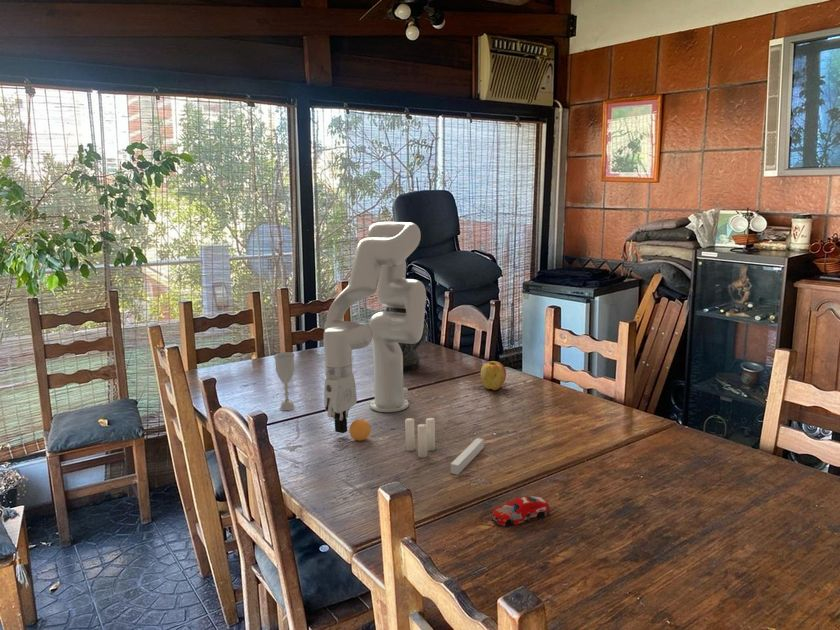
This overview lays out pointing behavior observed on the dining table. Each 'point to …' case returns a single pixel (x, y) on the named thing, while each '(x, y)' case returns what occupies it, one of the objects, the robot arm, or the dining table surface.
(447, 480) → the dining table surface
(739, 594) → the dining table surface
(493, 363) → the apple
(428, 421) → the pin
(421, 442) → the pin
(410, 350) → the beer stein
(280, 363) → the chalice
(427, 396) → the dining table surface
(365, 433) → the ball
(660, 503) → the dining table surface
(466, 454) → the white rectangular bar
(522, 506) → the race car
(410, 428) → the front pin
